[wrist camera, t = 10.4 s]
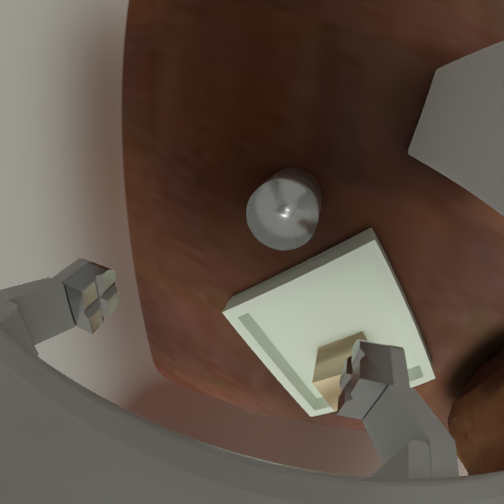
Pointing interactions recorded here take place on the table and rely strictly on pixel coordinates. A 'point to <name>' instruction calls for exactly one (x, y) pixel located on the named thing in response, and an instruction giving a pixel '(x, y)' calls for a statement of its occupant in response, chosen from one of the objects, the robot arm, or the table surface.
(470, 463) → the butternut squash
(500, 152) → the milk carton
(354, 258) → the tray
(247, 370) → the table surface
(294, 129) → the table surface
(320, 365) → the beech block
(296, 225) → the grey rounded cylinder
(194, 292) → the table surface
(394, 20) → the table surface
